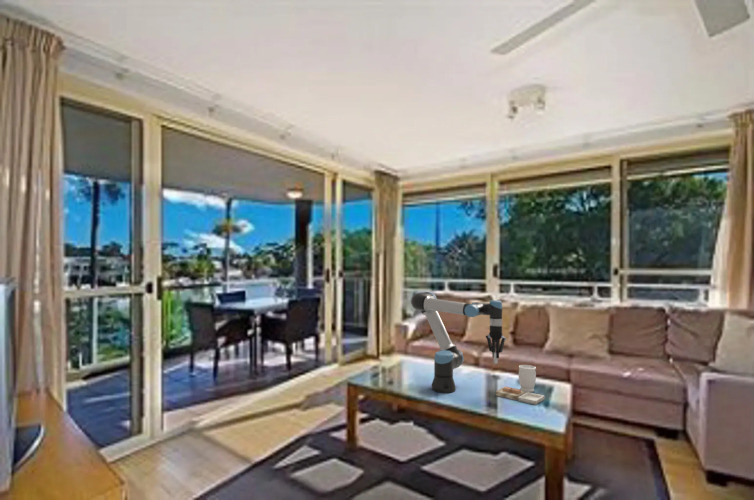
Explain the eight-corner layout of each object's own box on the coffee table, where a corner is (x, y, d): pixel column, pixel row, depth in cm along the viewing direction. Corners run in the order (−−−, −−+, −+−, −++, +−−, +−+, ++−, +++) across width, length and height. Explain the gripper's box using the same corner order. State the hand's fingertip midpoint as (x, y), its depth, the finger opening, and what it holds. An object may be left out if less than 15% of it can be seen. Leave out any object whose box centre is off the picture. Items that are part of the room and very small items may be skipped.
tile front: (510, 392, 266) (510, 389, 266) (513, 391, 269) (513, 388, 269) (518, 394, 263) (518, 391, 263) (521, 392, 266) (521, 389, 266)
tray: (518, 401, 258) (518, 397, 258) (527, 395, 268) (527, 392, 269) (535, 404, 251) (535, 401, 251) (544, 399, 262) (544, 395, 262)
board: (495, 395, 268) (495, 391, 268) (504, 391, 277) (504, 387, 277) (517, 400, 259) (517, 396, 259) (525, 395, 268) (525, 391, 268)
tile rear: (502, 390, 269) (502, 387, 269) (505, 389, 273) (505, 386, 273) (509, 392, 266) (509, 389, 266) (512, 390, 270) (512, 387, 270)
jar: (514, 388, 283) (515, 365, 283) (527, 387, 287) (527, 364, 287) (526, 393, 273) (526, 369, 273) (539, 391, 277) (539, 367, 277)
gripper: (483, 324, 277) (483, 362, 276) (503, 327, 269) (503, 366, 268) (488, 323, 283) (488, 360, 282) (508, 325, 274) (508, 364, 274)
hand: (495, 363), depth 275 cm, fingers closed
